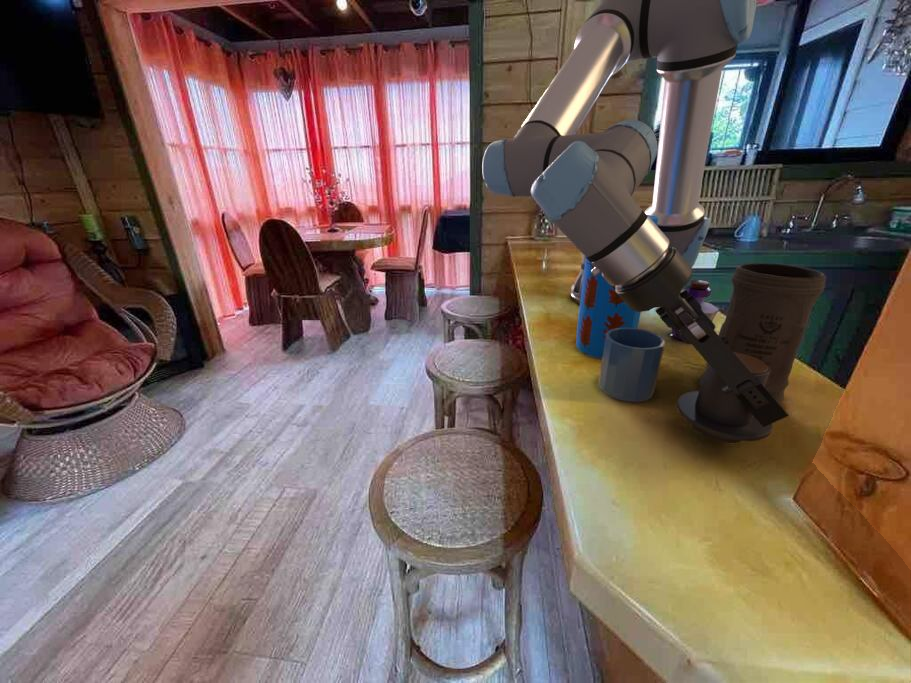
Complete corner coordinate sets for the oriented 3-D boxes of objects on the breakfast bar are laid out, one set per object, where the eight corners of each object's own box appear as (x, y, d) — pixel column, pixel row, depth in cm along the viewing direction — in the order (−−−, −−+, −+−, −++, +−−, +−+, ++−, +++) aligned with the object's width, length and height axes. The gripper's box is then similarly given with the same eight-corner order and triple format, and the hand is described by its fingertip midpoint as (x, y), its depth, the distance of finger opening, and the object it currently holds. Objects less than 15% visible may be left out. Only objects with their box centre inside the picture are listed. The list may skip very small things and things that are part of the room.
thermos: (638, 362, 69) (667, 220, 58) (577, 357, 71) (595, 220, 60) (626, 338, 78) (649, 213, 68) (573, 335, 81) (587, 213, 70)
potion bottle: (708, 333, 80) (724, 278, 75) (711, 349, 73) (728, 289, 68) (663, 326, 84) (675, 274, 79) (661, 341, 77) (674, 284, 72)
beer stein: (797, 419, 52) (851, 277, 45) (708, 405, 56) (746, 271, 49) (757, 374, 66) (794, 259, 59) (687, 365, 69) (715, 256, 62)
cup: (608, 370, 66) (616, 323, 62) (658, 385, 61) (670, 335, 58) (591, 390, 60) (598, 340, 57) (645, 408, 56) (657, 354, 52)
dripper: (681, 398, 55) (697, 337, 51) (767, 423, 49) (793, 357, 45) (665, 433, 48) (683, 365, 44) (763, 467, 42) (794, 393, 38)
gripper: (603, 269, 53) (703, 381, 56) (625, 315, 36) (766, 471, 39) (651, 230, 49) (755, 352, 53) (700, 262, 33) (848, 438, 36)
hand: (760, 403), depth 46 cm, fingers closed on dripper, 6 cm apart
